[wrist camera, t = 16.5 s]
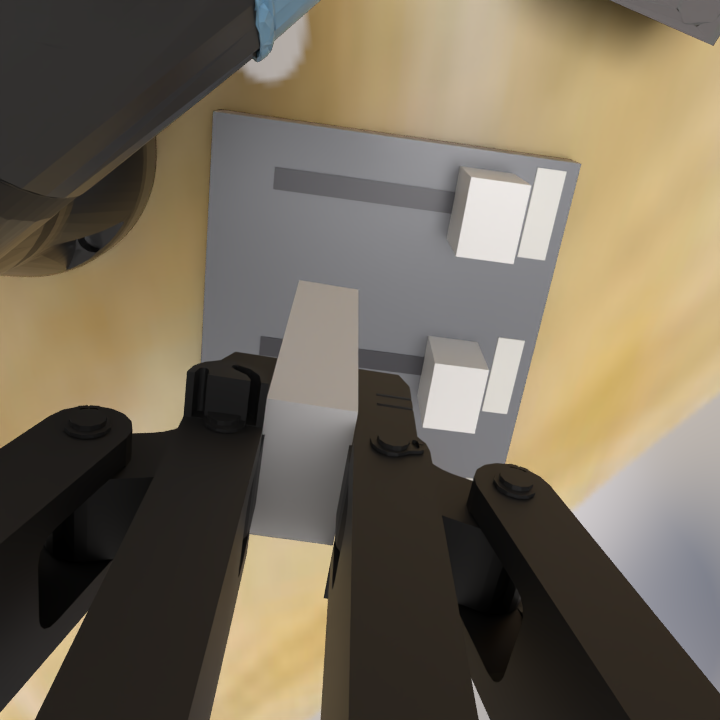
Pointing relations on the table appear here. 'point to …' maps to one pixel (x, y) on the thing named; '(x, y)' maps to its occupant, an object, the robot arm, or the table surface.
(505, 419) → the grey slider board
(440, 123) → the table surface
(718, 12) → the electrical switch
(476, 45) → the table surface
